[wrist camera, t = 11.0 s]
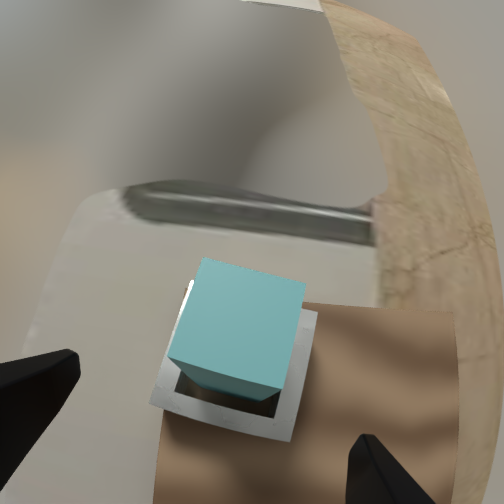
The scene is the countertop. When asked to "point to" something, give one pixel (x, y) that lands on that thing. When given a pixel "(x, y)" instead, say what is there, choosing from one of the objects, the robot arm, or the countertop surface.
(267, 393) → the block
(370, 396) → the board
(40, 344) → the countertop surface
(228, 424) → the collar
